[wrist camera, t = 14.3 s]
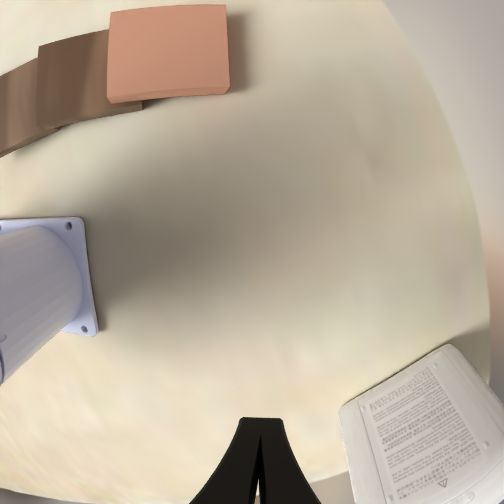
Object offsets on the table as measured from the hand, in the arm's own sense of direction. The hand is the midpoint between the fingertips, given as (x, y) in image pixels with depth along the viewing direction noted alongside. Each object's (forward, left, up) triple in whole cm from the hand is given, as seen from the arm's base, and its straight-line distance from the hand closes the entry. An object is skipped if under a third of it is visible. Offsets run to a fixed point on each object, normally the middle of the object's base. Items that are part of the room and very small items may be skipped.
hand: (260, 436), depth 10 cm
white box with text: (+10, -6, -10) cm, 15 cm away
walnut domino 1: (-13, +14, -8) cm, 21 cm away
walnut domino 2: (-7, +14, -9) cm, 18 cm away
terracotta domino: (-2, +15, -9) cm, 18 cm away
